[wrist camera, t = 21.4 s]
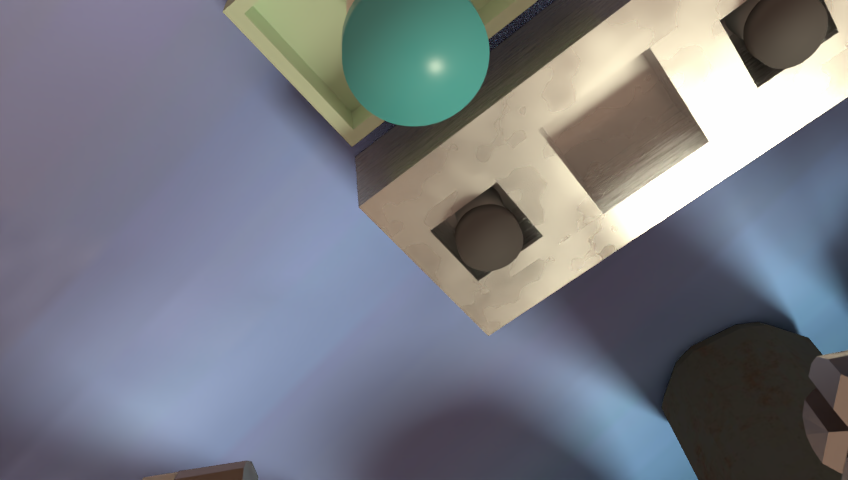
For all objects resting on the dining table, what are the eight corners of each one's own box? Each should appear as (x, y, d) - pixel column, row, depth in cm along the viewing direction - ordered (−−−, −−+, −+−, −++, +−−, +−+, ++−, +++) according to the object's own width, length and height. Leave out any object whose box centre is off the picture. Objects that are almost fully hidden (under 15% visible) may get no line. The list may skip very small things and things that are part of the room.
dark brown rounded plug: (794, 13, 34) (838, 37, 31) (734, 55, 35) (772, 83, 32) (767, -42, 33) (811, -22, 30) (705, 4, 34) (742, 28, 31)
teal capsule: (443, -88, 32) (481, -31, 24) (457, 25, 35) (496, 113, 26) (330, -68, 32) (327, -4, 24) (352, 44, 35) (357, 137, 26)
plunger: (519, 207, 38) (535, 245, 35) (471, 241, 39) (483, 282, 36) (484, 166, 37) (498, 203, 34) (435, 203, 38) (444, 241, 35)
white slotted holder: (749, -152, 33) (812, -138, 29) (834, 27, 37) (898, 62, 33) (354, 157, 38) (358, 207, 34) (472, 279, 43) (488, 335, 39)
